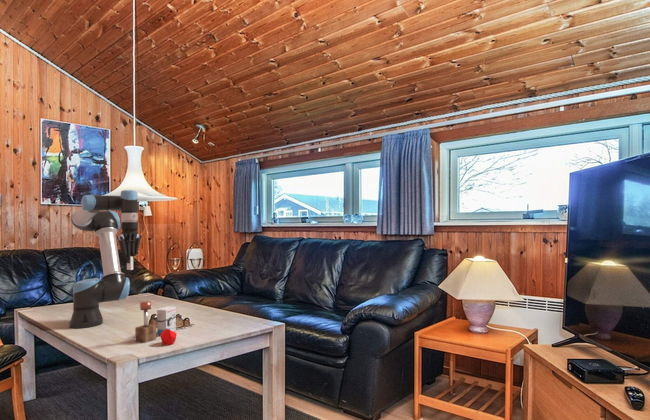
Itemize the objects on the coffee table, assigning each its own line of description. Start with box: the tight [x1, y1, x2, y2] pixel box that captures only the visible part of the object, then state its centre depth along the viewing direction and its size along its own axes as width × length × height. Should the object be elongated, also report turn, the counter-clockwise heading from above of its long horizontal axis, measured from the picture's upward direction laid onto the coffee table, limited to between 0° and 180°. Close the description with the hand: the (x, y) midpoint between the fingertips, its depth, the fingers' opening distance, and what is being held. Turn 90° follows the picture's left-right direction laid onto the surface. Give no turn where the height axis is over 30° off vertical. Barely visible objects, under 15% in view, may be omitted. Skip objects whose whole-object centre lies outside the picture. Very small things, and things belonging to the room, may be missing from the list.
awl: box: [139, 300, 152, 327], centre depth 185 cm, size 4×4×15 cm
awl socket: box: [134, 324, 157, 343], centre depth 184 cm, size 6×6×6 cm
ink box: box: [156, 305, 177, 336], centre depth 196 cm, size 8×5×12 cm, turn 167°
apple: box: [159, 329, 178, 346], centre depth 179 cm, size 7×7×8 cm
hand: (130, 269), depth 204 cm, fingers closed
